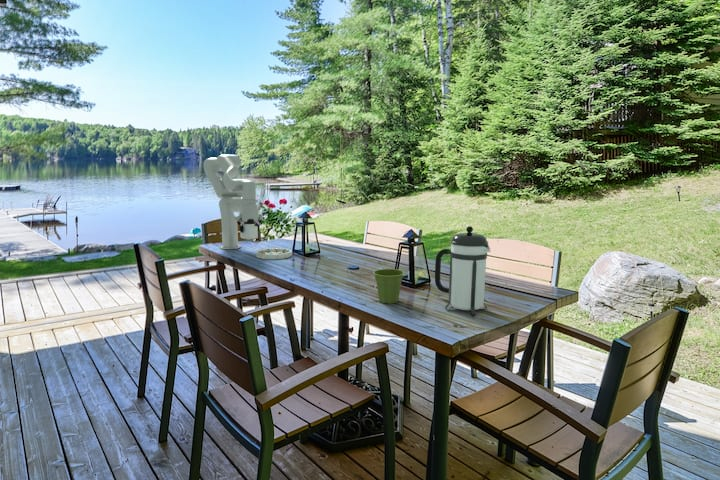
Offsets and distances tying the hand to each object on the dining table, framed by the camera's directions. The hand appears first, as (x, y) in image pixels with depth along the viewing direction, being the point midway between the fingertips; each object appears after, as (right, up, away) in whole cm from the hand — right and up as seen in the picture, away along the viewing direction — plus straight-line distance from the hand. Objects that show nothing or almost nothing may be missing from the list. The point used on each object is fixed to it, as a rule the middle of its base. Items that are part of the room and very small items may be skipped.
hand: (249, 231), depth 253 cm
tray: (+15, -14, -5) cm, 21 cm away
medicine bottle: (0, -4, +1) cm, 4 cm away
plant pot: (+75, -28, -89) cm, 120 cm away
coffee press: (+101, -30, -98) cm, 144 cm away
